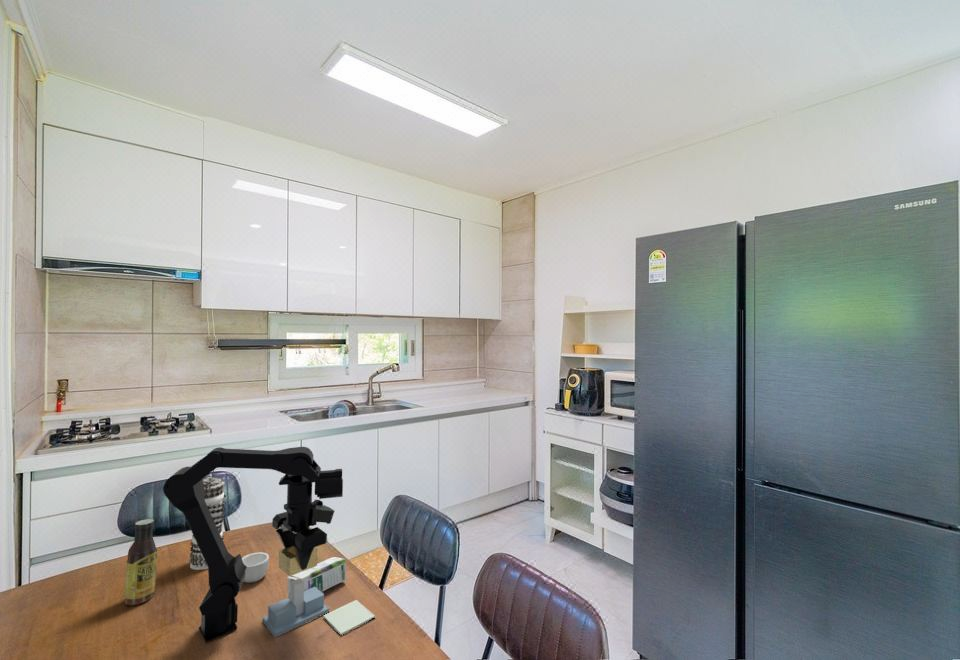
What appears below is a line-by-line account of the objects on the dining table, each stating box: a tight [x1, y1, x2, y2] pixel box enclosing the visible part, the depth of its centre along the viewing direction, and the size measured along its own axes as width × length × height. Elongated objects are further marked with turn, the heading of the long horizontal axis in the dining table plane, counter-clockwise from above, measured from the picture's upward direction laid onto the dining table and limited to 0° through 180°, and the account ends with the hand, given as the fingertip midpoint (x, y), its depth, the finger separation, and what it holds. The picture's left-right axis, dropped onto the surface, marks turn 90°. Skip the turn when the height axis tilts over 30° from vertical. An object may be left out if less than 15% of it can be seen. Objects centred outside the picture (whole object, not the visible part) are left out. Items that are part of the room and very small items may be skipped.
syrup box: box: [286, 556, 347, 600], centre depth 116 cm, size 6×6×14 cm
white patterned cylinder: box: [189, 476, 227, 571], centre depth 130 cm, size 9×9×25 cm
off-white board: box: [322, 599, 376, 636], centre depth 105 cm, size 9×9×1 cm
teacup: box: [242, 551, 270, 584], centre depth 122 cm, size 10×8×5 cm
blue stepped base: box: [262, 578, 330, 638], centre depth 105 cm, size 13×8×8 cm, turn 136°
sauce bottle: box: [123, 518, 158, 606], centre depth 111 cm, size 6×6×20 cm
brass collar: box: [278, 546, 318, 577], centre depth 105 cm, size 7×7×4 cm
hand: (297, 563), depth 105 cm, fingers closed on brass collar, 7 cm apart
